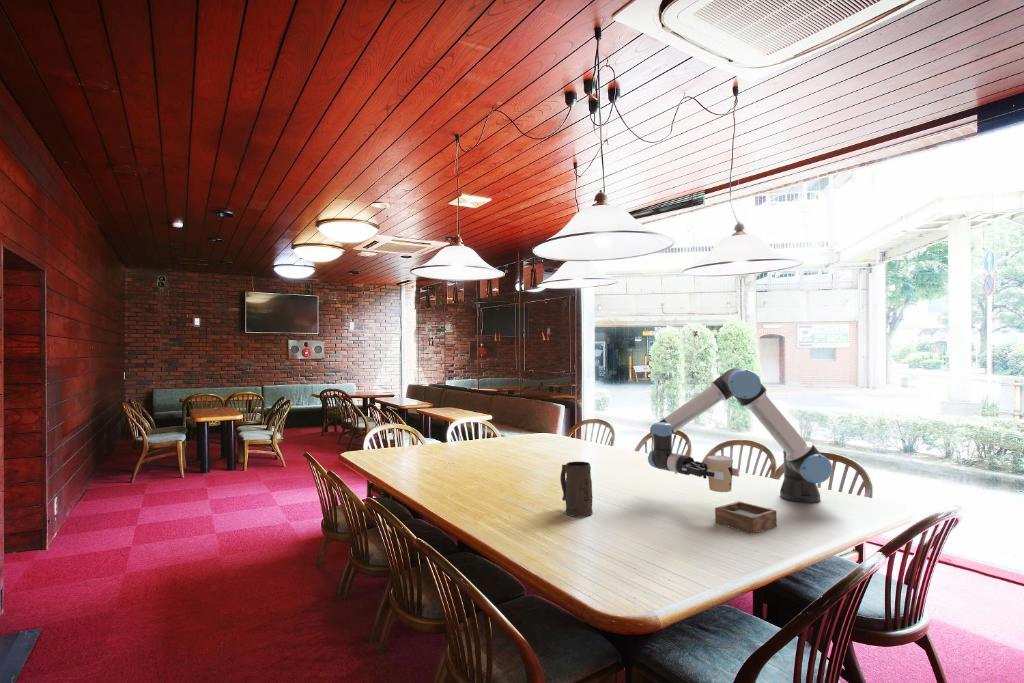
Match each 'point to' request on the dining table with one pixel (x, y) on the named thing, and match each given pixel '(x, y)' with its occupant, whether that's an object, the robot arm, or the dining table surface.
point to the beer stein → (577, 488)
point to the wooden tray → (746, 517)
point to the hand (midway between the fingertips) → (730, 474)
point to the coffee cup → (723, 466)
